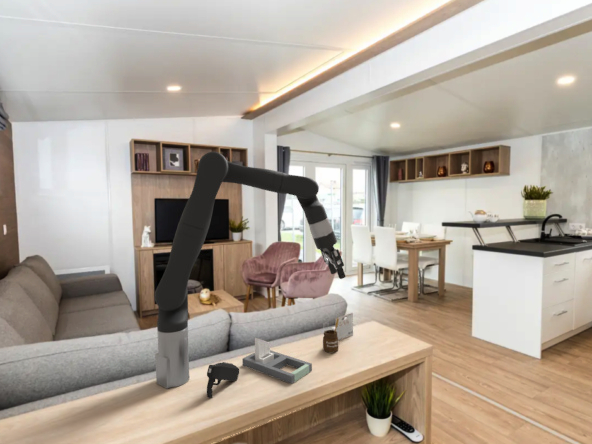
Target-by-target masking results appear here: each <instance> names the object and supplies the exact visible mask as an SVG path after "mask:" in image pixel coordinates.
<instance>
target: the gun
mask: <svg viewBox="0 0 592 444" xmlns="http://www.w3.org/2000/svg"><path fill="white" fill-rule="evenodd" d="M206 372H207V373H206V376H207V378H208V381H207V384H206V397H207V398H209V399H212V398H213V387H214V386H219V385H220V383H221V382H222V381H229V382H237V380H238V378H239V374H240V368H239V367H237V366H236V365H235V364H234V363H231V362H226V361H224V362H223V361H222V362H218V363H214V364H209V365H208V368H207V371H206ZM216 380H217V382H216Z"/></svg>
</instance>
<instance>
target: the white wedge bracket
mask: <svg viewBox="0 0 592 444" xmlns="http://www.w3.org/2000/svg"><path fill="white" fill-rule="evenodd" d="M270 350H271V342H269V341H266V340H263V339H261V338H257V337H254V353H255V361H258V362H261V363H264V364H266V363H268V362H270V361H272V360H274V354H273V353H270Z"/></svg>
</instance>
